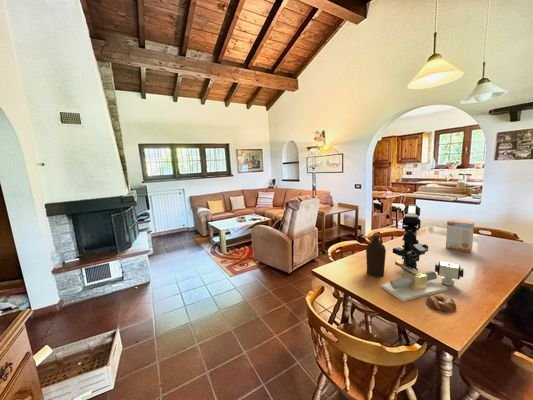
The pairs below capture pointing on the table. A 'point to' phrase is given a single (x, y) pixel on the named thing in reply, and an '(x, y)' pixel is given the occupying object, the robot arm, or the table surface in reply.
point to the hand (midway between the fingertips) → (409, 263)
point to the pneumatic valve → (449, 272)
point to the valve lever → (405, 267)
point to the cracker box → (459, 235)
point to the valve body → (413, 280)
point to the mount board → (409, 294)
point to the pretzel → (441, 303)
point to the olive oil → (375, 257)
